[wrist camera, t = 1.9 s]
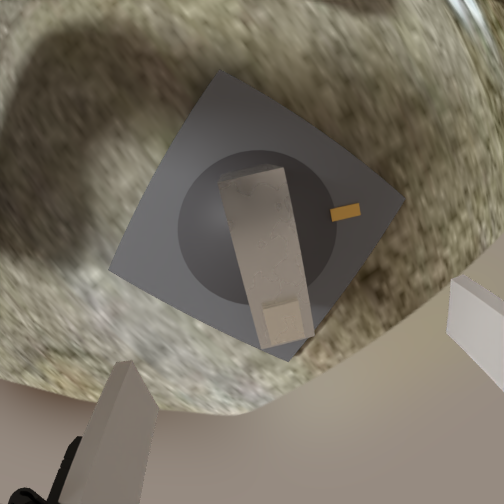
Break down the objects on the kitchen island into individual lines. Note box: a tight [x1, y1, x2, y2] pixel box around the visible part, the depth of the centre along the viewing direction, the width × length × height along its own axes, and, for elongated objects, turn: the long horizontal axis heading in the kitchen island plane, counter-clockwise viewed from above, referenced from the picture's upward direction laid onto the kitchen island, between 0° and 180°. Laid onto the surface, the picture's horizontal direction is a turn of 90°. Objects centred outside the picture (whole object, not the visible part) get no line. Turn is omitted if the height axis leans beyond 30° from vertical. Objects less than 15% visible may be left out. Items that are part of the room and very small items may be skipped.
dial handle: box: [218, 164, 315, 349], centre depth 23 cm, size 12×4×10 cm, turn 13°
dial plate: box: [108, 70, 406, 362], centre depth 29 cm, size 22×22×2 cm
